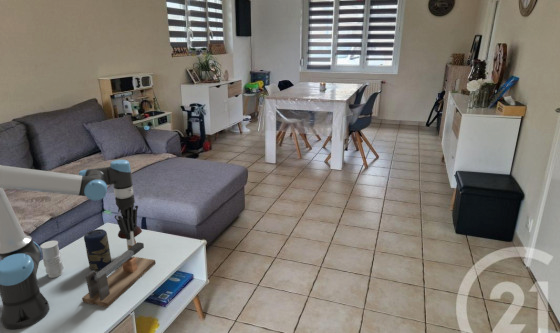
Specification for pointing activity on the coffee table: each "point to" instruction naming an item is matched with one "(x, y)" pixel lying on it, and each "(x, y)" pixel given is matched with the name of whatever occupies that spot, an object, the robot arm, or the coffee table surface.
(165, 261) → the coffee table surface
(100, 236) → the canister
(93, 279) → the lever
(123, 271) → the base
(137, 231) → the decorative mushroom
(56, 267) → the white ribbed cylinder
